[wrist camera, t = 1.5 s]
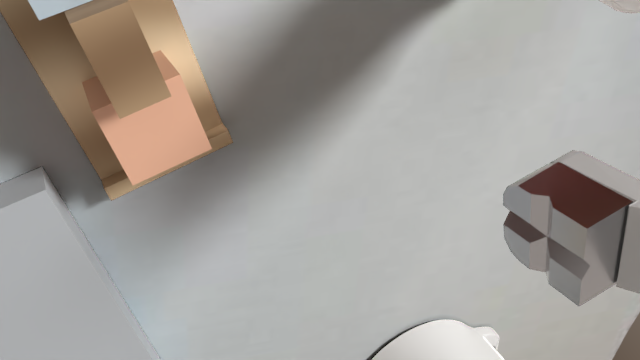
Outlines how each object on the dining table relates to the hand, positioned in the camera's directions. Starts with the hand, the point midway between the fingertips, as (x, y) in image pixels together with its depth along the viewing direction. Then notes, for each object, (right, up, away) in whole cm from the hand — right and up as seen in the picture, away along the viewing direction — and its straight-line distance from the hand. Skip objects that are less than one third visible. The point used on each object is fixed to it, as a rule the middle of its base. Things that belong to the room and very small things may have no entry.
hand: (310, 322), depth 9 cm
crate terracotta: (-9, +6, +19) cm, 22 cm away
